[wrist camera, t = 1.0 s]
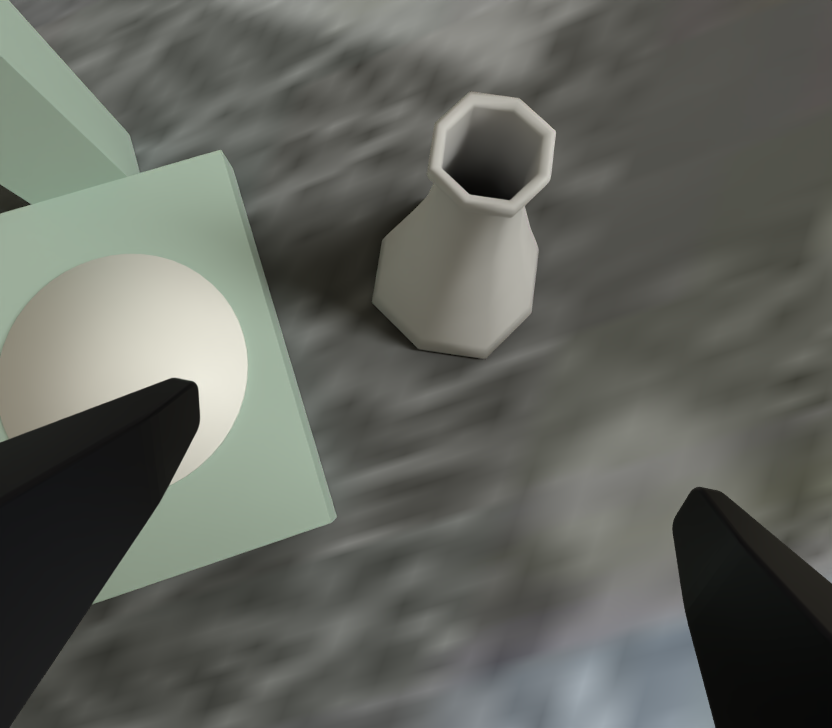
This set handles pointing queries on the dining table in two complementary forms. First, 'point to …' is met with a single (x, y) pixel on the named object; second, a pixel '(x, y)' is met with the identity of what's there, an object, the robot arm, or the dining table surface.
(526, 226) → the flask
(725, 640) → the robot arm
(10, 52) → the bench press
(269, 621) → the dining table surface
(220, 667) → the dining table surface
